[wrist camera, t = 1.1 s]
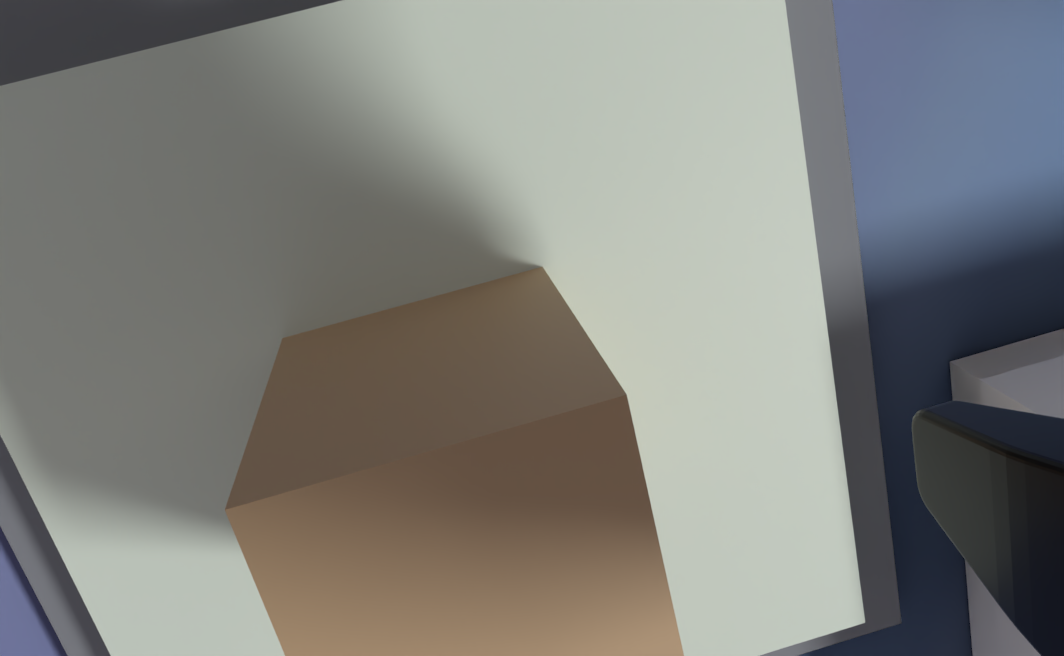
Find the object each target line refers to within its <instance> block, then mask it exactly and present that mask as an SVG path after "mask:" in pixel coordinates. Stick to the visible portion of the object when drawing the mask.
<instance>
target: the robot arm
mask: <svg viewBox="0 0 1064 656" xmlns="http://www.w3.org/2000/svg"><path fill="white" fill-rule="evenodd" d="M912 436H913V447H914V457H915V467H916V477H917V485H918V489H919V492H920V495H921V497H922V500H923V502H924V504H925V505H926V507H927V508H928V510H929V511H930V513H931V514H932V515H933V517H934V518H935V519H936V521H937V522H938V523H939V525H940V526H941V528H942V529H943V530H944V532H945V533H946V534H947V536H948V537H949V538H950V540H951V541H952V543H953V544H954V545H955V547H956V548H957V549H958V551H959V552H960V553H961V555H962V556H963V557H964V559H965V560H966V562H967V563H968V564H969V566H970V567H971V568H972V570H973V571H974V572H975V574H976V575H977V576H978V578H979V579H980V581H981V582H982V583H983V585H984V586H985V587H986V589H987V590H988V591H989V593H990V594H991V596H992V597H993V598H994V600H995V601H996V602H997V604H998V605H999V606H1000V608H1001V609H1002V610H1003V612H1004V613H1005V614H1006V615H1007V617H1008V618H1009V619H1010V620H1011V622H1012V623H1013V624H1014V626H1015V627H1016V628H1017V629H1018V630H1019V631H1020V633H1021V634H1022V635H1023V636H1024V637H1025V638H1026V639H1027V641H1028V642H1029V643H1030V644H1031V645H1032V646H1033V647H1034V649H1035V650H1036V651H1037V652H1038V653H1039V654H1040V655H1041V656H1064V418H1058V417H1052V416H1046V415H1040V414H1034V413H1028V412H1022V411H1016V410H1010V409H1004V408H999V407H993V406H987V405H981V404H975V403H969V402H963V401H948V402H945V403H941V404H938V405H934V406H931V407H928V408H924V409H921V410H919V411H917V413H916V414H915V415H914V417H913V420H912Z"/></svg>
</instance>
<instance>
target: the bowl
mask: <svg viewBox="0 0 1064 656" xmlns="http://www.w3.org/2000/svg"><path fill="white" fill-rule="evenodd" d="M950 374H951V387H952V400H953V401H963V402H969V403H975V404H981V405H987V406H993V407H999V408H1004V409H1010V410H1016V411H1022V412H1028V413H1034V414H1040V415H1046V416H1052V417H1058V418H1064V329H1060V330H1057V331H1053V332H1050V333H1047V334H1043V335H1040V336H1036V337H1033V338H1029V339H1026V340H1023V341H1019V342H1016V343H1012V344H1009V345H1005V346H1002V347H999V348H995V349H992V350H988V351H985V352H981V353H978V354H975V355H971V356H968V357H964V358H961V359H957V360H954V361H951V362H950ZM965 566H966V578H967V591H968V604H969V617H970V629H971V642H972V655H973V656H1041V655H1040V654H1039V653H1038V652H1037V651H1036V650H1035V649H1034V647H1033V646H1032V645H1031V644H1030V643H1029V642H1028V641H1027V639H1026V638H1025V637H1024V636H1023V635H1022V634H1021V633H1020V631H1019V630H1018V629H1017V628H1016V627H1015V626H1014V624H1013V623H1012V622H1011V620H1010V619H1009V618H1008V617H1007V615H1006V614H1005V613H1004V612H1003V610H1002V609H1001V608H1000V606H999V605H998V604H997V602H996V601H995V600H994V598H993V597H992V596H991V594H990V593H989V591H988V590H987V589H986V587H985V586H984V585H983V583H982V582H981V581H980V579H979V578H978V576H977V575H976V574H975V572H974V571H973V570H972V568H971V567H970V566H969V564H968V563H967V562H966V560H965Z"/></svg>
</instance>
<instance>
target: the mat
mask: <svg viewBox="0 0 1064 656" xmlns="http://www.w3.org/2000/svg"><path fill="white" fill-rule="evenodd" d="M338 1H342V0H0V86H2V85H6V84H10V83H14V82H18V81H22V80H26V79H30V78H34V77H38V76H42V75H46V74H50V73H54V72H58V71H62V70H66V69H70V68H74V67H78V66H82V65H86V64H90V63H94V62H98V61H102V60H106V59H110V58H114V57H118V56H122V55H126V54H130V53H134V52H138V51H142V50H146V49H150V48H154V47H158V46H162V45H166V44H170V43H174V42H178V41H182V40H186V39H190V38H194V37H198V36H202V35H206V34H210V33H214V32H218V31H222V30H226V29H230V28H234V27H238V26H242V25H246V24H250V23H254V22H258V21H262V20H266V19H270V18H274V17H278V16H282V15H286V14H290V13H294V12H298V11H302V10H306V9H310V8H314V7H318V6H322V5H326V4H330V3H334V2H338ZM785 3H786V11H787V19H788V27H789V34H790V42H791V50H792V58H793V65H794V73H795V81H796V89H797V96H798V104H799V112H800V120H801V128H802V135H803V143H804V151H805V159H806V166H807V174H808V182H809V190H810V197H811V205H812V213H813V221H814V228H815V236H816V244H817V252H818V259H819V267H820V275H821V283H822V291H823V298H824V306H825V314H826V322H827V329H828V337H829V345H830V353H831V360H832V368H833V376H834V384H835V391H836V399H837V407H838V415H839V423H840V430H841V438H842V446H843V454H844V461H845V469H846V477H847V485H848V492H849V500H850V508H851V516H852V523H853V531H854V539H855V547H856V555H857V562H858V570H859V578H860V586H861V593H862V601H863V609H864V617H865V623H863V624H859V625H856V626H853V627H850V628H847V629H843V630H840V631H837V632H834V633H830V634H827V635H824V636H821V637H818V638H814V639H811V640H808V641H805V642H801V643H798V644H795V645H792V646H789V647H785V648H782V649H779V650H776V651H772V652H769V653H766V654H763V655H760V656H798V655H801V654H804V653H807V652H811V651H814V650H817V649H820V648H823V647H827V646H830V645H833V644H836V643H840V642H843V641H846V640H849V639H852V638H856V637H859V636H862V635H865V634H868V633H872V632H875V631H878V630H881V629H885V628H888V627H891V626H894V625H897V624H901V614H900V605H899V596H898V587H897V578H896V569H895V560H894V551H893V542H892V533H891V524H890V515H889V506H888V497H887V488H886V479H885V470H884V461H883V452H882V443H881V434H880V425H879V416H878V407H877V398H876V389H875V380H874V371H873V362H872V353H871V344H870V335H869V326H868V317H867V308H866V299H865V290H864V281H863V272H862V263H861V254H860V245H859V236H858V228H857V219H856V210H855V201H854V192H853V183H852V174H851V165H850V156H849V147H848V138H847V129H846V120H845V111H844V102H843V93H842V84H841V75H840V66H839V57H838V48H837V39H836V30H835V21H834V12H833V3H832V0H785ZM0 527H1V529H2V531H3V532H4V534H5V536H6V538H7V540H8V542H9V544H10V546H11V548H12V550H13V552H14V554H15V555H16V557H17V559H18V561H19V563H20V565H21V567H22V569H23V571H24V573H25V575H26V577H27V579H28V580H29V582H30V584H31V586H32V588H33V590H34V592H35V594H36V596H37V598H38V600H39V602H40V604H41V605H42V607H43V609H44V611H45V613H46V615H47V617H48V619H49V621H50V623H51V625H52V627H53V628H54V630H55V632H56V634H57V636H58V638H59V640H60V642H61V644H62V646H63V648H64V650H65V652H66V653H67V655H68V656H111V655H110V653H109V651H108V649H107V647H106V645H105V643H104V641H103V639H102V637H101V635H100V633H99V631H98V629H97V627H96V625H95V623H94V621H93V619H92V617H91V615H90V613H89V611H88V609H87V607H86V605H85V603H84V601H83V599H82V597H81V595H80V593H79V591H78V589H77V587H76V585H75V583H74V581H73V579H72V577H71V575H70V573H69V571H68V569H67V567H66V565H65V563H64V561H63V559H62V557H61V555H60V553H59V551H58V549H57V547H56V545H55V543H54V541H53V539H52V537H51V535H50V533H49V531H48V529H47V527H46V525H45V523H44V521H43V519H42V517H41V515H40V513H39V511H38V509H37V507H36V505H35V503H34V501H33V499H32V497H31V495H30V493H29V491H28V489H27V487H26V485H25V483H24V481H23V479H22V477H21V475H20V473H19V471H18V469H17V467H16V465H15V463H14V461H13V459H12V457H11V455H10V453H9V451H8V449H7V447H6V445H5V443H4V441H3V439H2V437H1V435H0Z"/></svg>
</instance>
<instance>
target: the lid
mask: <svg viewBox="0 0 1064 656" xmlns="http://www.w3.org/2000/svg"><path fill="white" fill-rule="evenodd" d="M0 435H1V437H2V439H3V441H4V443H5V445H6V447H7V449H8V451H9V453H10V455H11V457H12V459H13V461H14V463H15V465H16V467H17V469H18V471H19V473H20V475H21V477H22V479H23V481H24V483H25V485H26V487H27V489H28V491H29V493H30V495H31V497H32V499H33V501H34V503H35V505H36V507H37V509H38V511H39V513H40V515H41V517H42V519H43V521H44V523H45V525H46V527H47V529H48V531H49V533H50V535H51V537H52V539H53V541H54V543H55V545H56V547H57V549H58V551H59V553H60V555H61V557H62V559H63V561H64V563H65V565H66V567H67V569H68V571H69V573H70V575H71V577H72V579H73V581H74V583H75V585H76V587H77V589H78V591H79V593H80V595H81V597H82V599H83V601H84V603H85V605H86V607H87V609H88V611H89V613H90V615H91V617H92V619H93V621H94V623H95V625H96V627H97V629H98V631H99V633H100V635H101V637H102V639H103V641H104V643H105V645H106V647H107V649H108V651H109V653H110V655H111V656H760V655H763V654H766V653H769V652H772V651H776V650H779V649H782V648H785V647H789V646H792V645H795V644H798V643H801V642H805V641H808V640H811V639H814V638H818V637H821V636H824V635H827V634H830V633H834V632H837V631H840V630H843V629H847V628H850V627H853V626H856V625H859V624H863V623H865V617H864V609H863V601H862V593H861V586H860V578H859V570H858V562H857V555H856V547H855V539H854V531H853V523H852V516H851V508H850V500H849V492H848V485H847V477H846V469H845V461H844V454H843V446H842V438H841V430H840V423H839V415H838V407H837V399H836V391H835V384H834V376H833V368H832V360H831V353H830V345H829V337H828V329H827V322H826V314H825V306H824V298H823V291H822V283H821V275H820V267H819V259H818V252H817V244H816V236H815V228H814V221H813V213H812V205H811V197H810V190H809V182H808V174H807V166H806V159H805V151H804V143H803V135H802V128H801V120H800V112H799V104H798V96H797V89H796V81H795V73H794V65H793V58H792V50H791V42H790V34H789V27H788V19H787V11H786V3H785V0H342V1H338V2H334V3H330V4H326V5H322V6H318V7H314V8H310V9H306V10H302V11H298V12H294V13H290V14H286V15H282V16H278V17H274V18H270V19H266V20H262V21H258V22H254V23H250V24H246V25H242V26H238V27H234V28H230V29H226V30H222V31H218V32H214V33H210V34H206V35H202V36H198V37H194V38H190V39H186V40H182V41H178V42H174V43H170V44H166V45H162V46H158V47H154V48H150V49H146V50H142V51H138V52H134V53H130V54H126V55H122V56H118V57H114V58H110V59H106V60H102V61H98V62H94V63H90V64H86V65H82V66H78V67H74V68H70V69H66V70H62V71H58V72H54V73H50V74H46V75H42V76H38V77H34V78H30V79H26V80H22V81H18V82H14V83H10V84H6V85H2V86H0Z"/></svg>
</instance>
